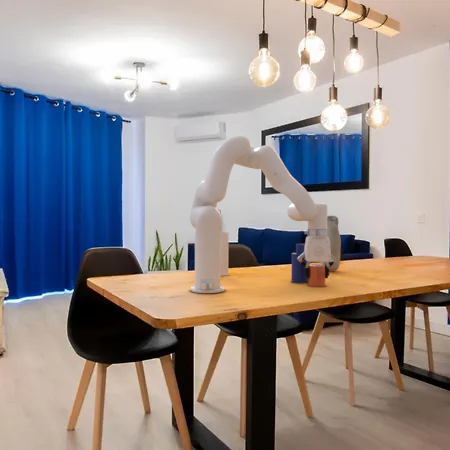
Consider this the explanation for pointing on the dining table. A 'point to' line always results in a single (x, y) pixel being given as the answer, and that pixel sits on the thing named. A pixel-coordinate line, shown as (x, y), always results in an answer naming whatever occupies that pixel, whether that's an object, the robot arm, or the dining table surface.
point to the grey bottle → (333, 241)
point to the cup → (317, 275)
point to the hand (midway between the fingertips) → (316, 277)
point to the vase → (224, 254)
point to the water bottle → (298, 266)
